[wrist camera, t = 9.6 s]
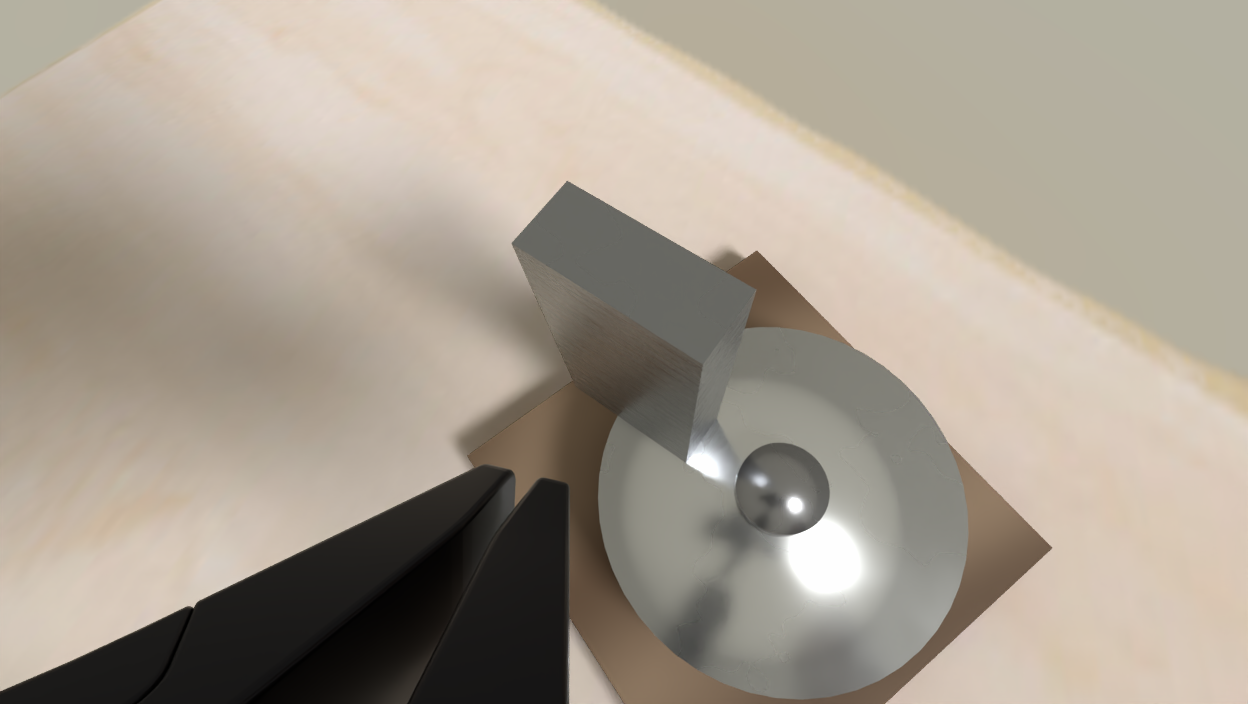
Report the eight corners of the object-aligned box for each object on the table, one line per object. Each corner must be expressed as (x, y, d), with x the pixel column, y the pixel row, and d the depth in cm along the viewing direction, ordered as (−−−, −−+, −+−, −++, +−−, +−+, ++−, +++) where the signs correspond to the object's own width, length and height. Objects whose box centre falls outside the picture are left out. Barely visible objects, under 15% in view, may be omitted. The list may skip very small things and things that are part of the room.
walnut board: (1032, 549, 18) (1145, 539, 14) (717, 840, 16) (736, 933, 12) (753, 264, 22) (773, 188, 18) (476, 461, 20) (425, 428, 16)
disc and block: (1006, 457, 17) (1340, 333, 9) (840, 782, 15) (1088, 1060, 6) (682, 267, 20) (694, 37, 12) (496, 507, 18) (340, 434, 9)
